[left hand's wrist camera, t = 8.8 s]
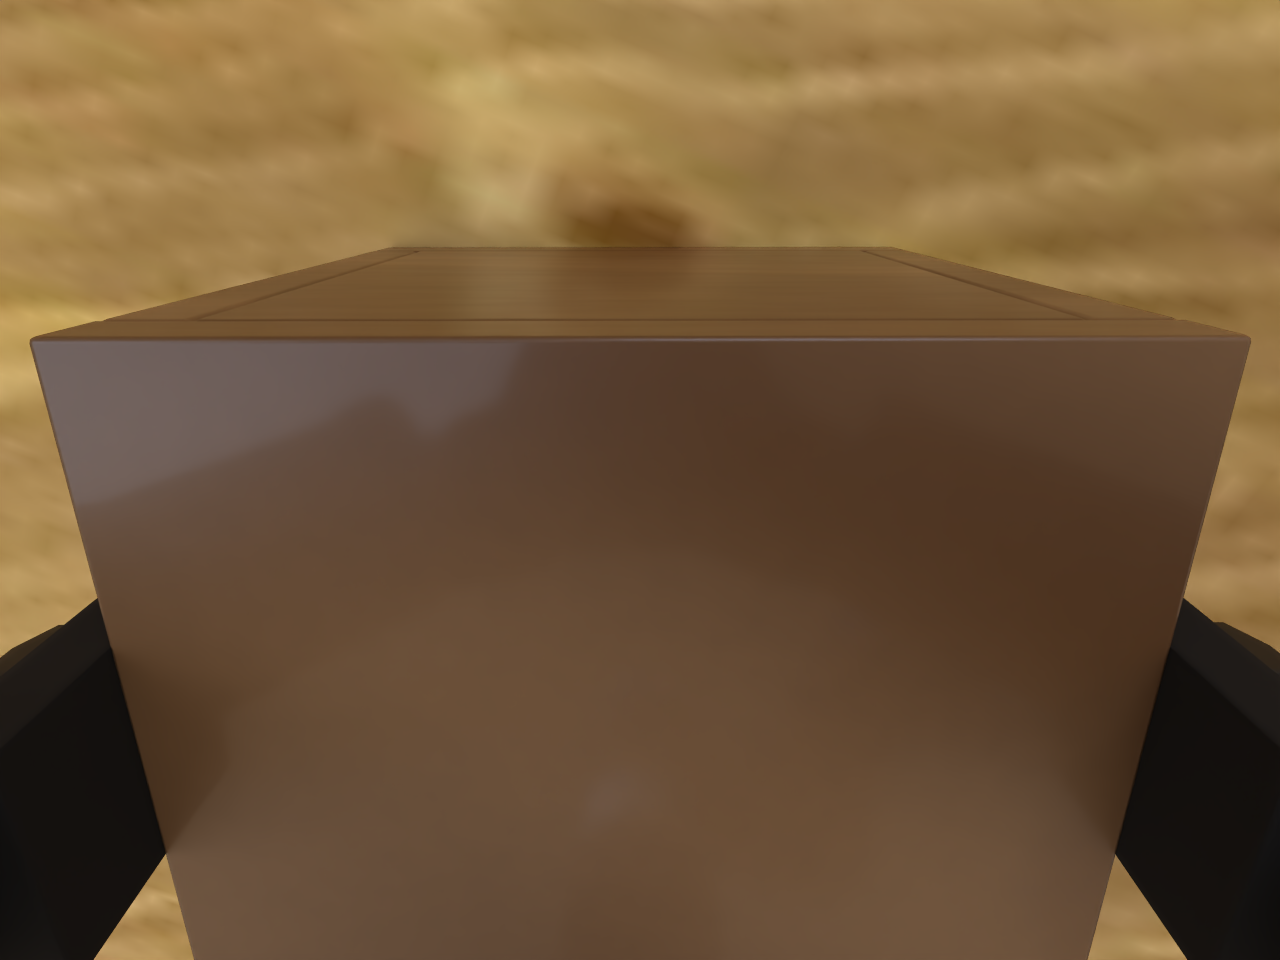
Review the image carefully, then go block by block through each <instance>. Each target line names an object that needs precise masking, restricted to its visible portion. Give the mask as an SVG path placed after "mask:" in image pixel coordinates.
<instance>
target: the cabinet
mask: <svg viewBox="0 0 1280 960" xmlns="http://www.w3.org/2000/svg"><path fill="white" fill-rule="evenodd" d="M1250 344H1251V338H1250V337H1248V336H1246V335H1243V334H1239V333H1235V332H1231V331H1227V330H1223V329H1219V328H1215V327H1211V326H1207V325H1203V324H1199V323H1195V322H1191V321H1187V320H1176V319H1174V318H1171V317H1167V316H1163V315H1159V314H1156V313H1152V312H1148V311H1144V310H1140V309H1136V308H1132V307H1128V306H1124V305H1120V304H1116V303H1112V302H1108V301H1104V300H1100V299H1096V298H1092V297H1088V296H1084V295H1080V294H1076V293H1072V292H1068V291H1064V290H1060V289H1056V288H1052V287H1048V286H1044V285H1040V284H1036V283H1032V282H1028V281H1024V280H1020V279H1016V278H1012V277H1008V276H1004V275H1000V274H996V273H992V272H988V271H984V270H981V269H977V268H973V267H969V266H965V265H961V264H957V263H953V262H949V261H945V260H941V259H937V258H933V257H929V256H925V255H921V254H917V253H913V252H909V251H904V250H901V249H897V248H893V247H631V248H386V249H382V250H378V251H374V252H370V253H366V254H362V255H358V256H354V257H350V258H346V259H342V260H338V261H334V262H330V263H326V264H322V265H318V266H314V267H311V268H307V269H303V270H299V271H295V272H291V273H287V274H283V275H279V276H275V277H271V278H267V279H263V280H259V281H255V282H251V283H247V284H243V285H240V286H236V287H232V288H228V289H224V290H220V291H216V292H212V293H208V294H204V295H200V296H196V297H192V298H188V299H184V300H180V301H176V302H173V303H169V304H165V305H161V306H157V307H153V308H149V309H145V310H141V311H137V312H133V313H129V314H125V315H121V316H117V317H113V318H109V319H106V320H104V321H95V322H91V323H87V324H83V325H79V326H75V327H71V328H67V329H63V330H59V331H55V332H51V333H47V334H43V335H39V336H36V337H33V338H31V339H30V347H31V351H32V354H33V358H34V362H35V365H36V369H37V373H38V377H39V380H40V384H41V388H42V392H43V395H44V399H45V403H46V407H47V410H48V414H49V418H50V422H51V425H52V429H53V433H54V437H55V440H56V444H57V448H58V452H59V455H60V459H61V463H62V467H63V470H64V474H65V478H66V481H67V485H68V489H69V493H70V496H71V500H72V504H73V508H74V511H75V515H76V519H77V523H78V526H79V530H80V534H81V538H82V541H83V545H84V549H85V553H86V556H87V560H88V564H89V568H90V571H91V575H92V579H93V582H94V586H95V590H96V594H97V597H98V601H99V605H100V609H101V612H102V616H103V620H104V624H105V627H106V631H107V635H108V639H109V642H110V646H111V650H112V654H113V657H114V661H115V665H116V669H117V672H118V676H119V680H120V684H121V687H122V691H123V695H124V698H125V702H126V706H127V710H128V713H129V717H130V721H131V725H132V728H133V732H134V736H135V740H136V743H137V747H138V751H139V755H140V758H141V762H142V766H143V770H144V773H145V777H146V781H147V785H148V788H149V792H150V796H151V799H152V803H153V807H154V811H155V814H156V818H157V822H158V826H159V829H160V833H161V837H162V841H163V844H164V848H165V852H166V856H167V859H168V863H169V867H170V871H171V874H172V878H173V882H174V886H175V889H176V893H177V897H178V901H179V904H180V908H181V912H182V915H183V919H184V923H185V927H186V930H187V934H188V938H189V942H190V945H191V949H192V953H193V957H194V960H1087V959H1088V956H1089V952H1090V948H1091V944H1092V941H1093V937H1094V933H1095V929H1096V925H1097V922H1098V918H1099V914H1100V910H1101V907H1102V903H1103V899H1104V895H1105V891H1106V888H1107V884H1108V880H1109V876H1110V873H1111V869H1112V865H1113V861H1114V857H1115V854H1116V850H1117V846H1118V842H1119V839H1120V835H1121V831H1122V827H1123V823H1124V820H1125V816H1126V812H1127V808H1128V805H1129V801H1130V797H1131V793H1132V789H1133V786H1134V782H1135V778H1136V774H1137V771H1138V767H1139V763H1140V759H1141V755H1142V752H1143V748H1144V744H1145V740H1146V737H1147V733H1148V729H1149V725H1150V721H1151V718H1152V714H1153V710H1154V706H1155V703H1156V699H1157V695H1158V691H1159V687H1160V684H1161V680H1162V676H1163V672H1164V669H1165V665H1166V661H1167V657H1168V653H1169V650H1170V646H1171V642H1172V638H1173V635H1174V631H1175V627H1176V623H1177V619H1178V616H1179V612H1180V608H1181V604H1182V601H1183V597H1184V593H1185V589H1186V585H1187V582H1188V578H1189V574H1190V570H1191V567H1192V563H1193V559H1194V555H1195V551H1196V548H1197V544H1198V540H1199V536H1200V533H1201V529H1202V525H1203V521H1204V517H1205V514H1206V510H1207V506H1208V502H1209V499H1210V495H1211V491H1212V487H1213V483H1214V480H1215V476H1216V472H1217V468H1218V465H1219V461H1220V457H1221V453H1222V449H1223V446H1224V442H1225V438H1226V434H1227V431H1228V427H1229V423H1230V419H1231V415H1232V412H1233V408H1234V404H1235V400H1236V397H1237V393H1238V389H1239V385H1240V381H1241V378H1242V374H1243V370H1244V366H1245V363H1246V359H1247V355H1248V351H1249V347H1250Z"/></svg>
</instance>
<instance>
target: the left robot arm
mask: <svg viewBox="0 0 1280 960" xmlns="http://www.w3.org/2000/svg"><path fill="white" fill-rule="evenodd" d="M165 854H166V852H165V848H164V844H163V841H162V837H161V833H160V829H159V826H158V822H157V818H156V814H155V811H154V807H153V803H152V799H151V796H150V792H149V788H148V785H147V781H146V777H145V773H144V770H143V766H142V762H141V758H140V755H139V751H138V747H137V743H136V740H135V736H134V732H133V728H132V725H131V721H130V717H129V713H128V710H127V706H126V702H125V698H124V695H123V691H122V687H121V684H120V680H119V676H118V672H117V669H116V665H115V661H114V657H113V654H112V650H111V646H110V642H109V639H108V635H107V631H106V627H105V624H104V620H103V616H102V612H101V609H100V605H99V601H98V598H97V599H96V600H94V601H93V602H92V603H91V604H89V605H88V606H87V607H86V608H85V609H83V610H82V611H81V612H80V613H78V614H77V615H76V616H75V617H73V618H72V619H71V620H70V621H68V622H67V623H66V624H65V625H58V626H56V627H54V628H52V629H50V630H48V631H46V632H44V633H42V634H40V635H38V636H36V637H34V638H32V639H30V640H28V641H26V642H24V643H22V644H20V645H18V646H16V647H14V648H12V649H11V650H10V651H8V652H7V653H6V654H5V655H3V656H2V657H1V658H0V960H94V958H95V957H96V955H97V954H98V952H99V951H100V949H101V948H102V946H103V945H104V943H105V942H106V940H107V939H108V938H109V936H110V935H111V933H112V932H113V930H114V929H115V927H116V926H117V924H118V923H119V921H120V920H121V919H122V917H123V916H124V914H125V913H126V911H127V910H128V908H129V907H130V905H131V904H132V902H133V901H134V900H135V898H136V897H137V895H138V894H139V892H140V891H141V889H142V888H143V886H144V885H145V883H146V882H147V880H148V879H149V878H150V876H151V875H152V873H153V872H154V870H155V869H156V867H157V866H158V864H159V863H160V861H161V860H162V859H163V857H164V856H165ZM1116 856H1117V857H1118V859H1119V860H1120V862H1121V863H1122V865H1123V866H1124V867H1125V869H1126V870H1127V872H1128V873H1129V875H1130V876H1131V878H1132V879H1133V881H1134V882H1135V884H1136V885H1137V886H1138V888H1139V889H1140V891H1141V892H1142V894H1143V895H1144V897H1145V898H1146V900H1147V901H1148V903H1149V904H1150V905H1151V907H1152V908H1153V910H1154V911H1155V913H1156V914H1157V916H1158V917H1159V919H1160V920H1161V922H1162V923H1163V925H1164V926H1165V927H1166V929H1167V930H1168V932H1169V933H1170V935H1171V936H1172V938H1173V939H1174V941H1175V942H1176V944H1177V945H1178V946H1179V948H1180V949H1181V951H1182V952H1183V954H1184V955H1185V957H1186V958H1187V960H1280V653H1279V652H1277V651H1276V650H1275V649H1274V648H1272V647H1271V646H1270V645H1268V644H1266V643H1264V642H1262V641H1260V640H1258V639H1256V638H1254V637H1252V636H1250V635H1248V634H1246V633H1244V632H1242V631H1240V630H1238V629H1236V628H1233V627H1231V626H1229V625H1227V624H1225V623H1223V622H1213V621H1211V620H1210V619H1209V618H1208V617H1206V616H1205V615H1204V614H1203V613H1201V612H1200V611H1199V610H1198V609H1196V608H1195V607H1194V606H1193V605H1192V604H1190V603H1189V602H1188V601H1187V600H1185V599H1184V598H1183V601H1182V604H1181V608H1180V612H1179V616H1178V619H1177V623H1176V627H1175V631H1174V635H1173V638H1172V642H1171V646H1170V650H1169V653H1168V657H1167V661H1166V665H1165V669H1164V672H1163V676H1162V680H1161V684H1160V687H1159V691H1158V695H1157V699H1156V703H1155V706H1154V710H1153V714H1152V718H1151V721H1150V725H1149V729H1148V733H1147V737H1146V740H1145V744H1144V748H1143V752H1142V755H1141V759H1140V763H1139V767H1138V771H1137V774H1136V778H1135V782H1134V786H1133V789H1132V793H1131V797H1130V801H1129V805H1128V808H1127V812H1126V816H1125V820H1124V823H1123V827H1122V831H1121V835H1120V839H1119V842H1118V846H1117V850H1116Z"/></svg>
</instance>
